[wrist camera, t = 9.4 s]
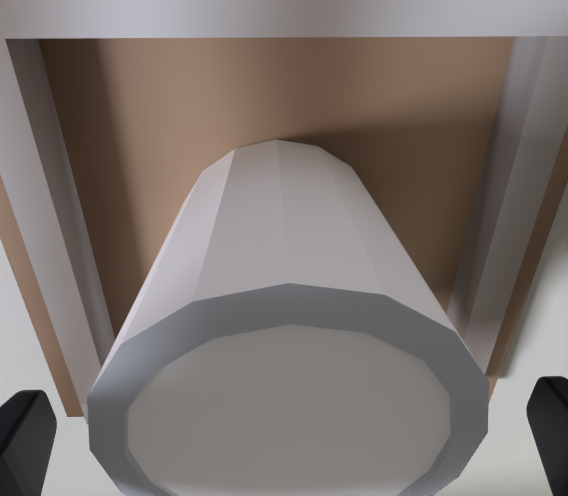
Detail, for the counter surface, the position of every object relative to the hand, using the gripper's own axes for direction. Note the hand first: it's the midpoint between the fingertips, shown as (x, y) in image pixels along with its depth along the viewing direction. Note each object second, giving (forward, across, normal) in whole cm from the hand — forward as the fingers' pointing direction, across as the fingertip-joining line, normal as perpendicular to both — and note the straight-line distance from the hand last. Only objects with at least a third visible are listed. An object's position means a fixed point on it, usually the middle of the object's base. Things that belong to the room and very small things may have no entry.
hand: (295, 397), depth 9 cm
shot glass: (+6, 0, 0) cm, 6 cm away
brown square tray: (+7, 0, 0) cm, 7 cm away
